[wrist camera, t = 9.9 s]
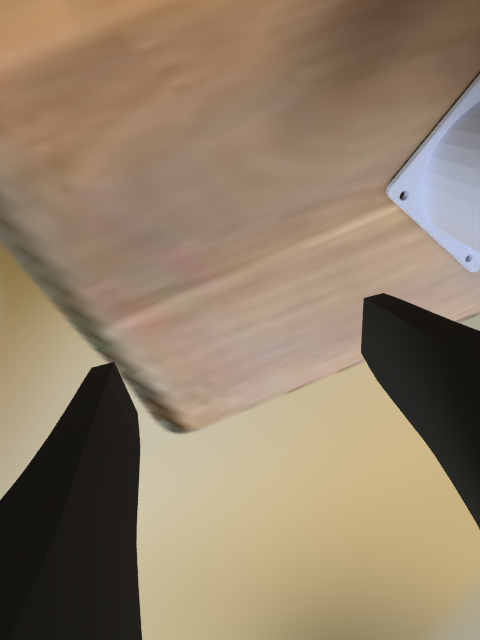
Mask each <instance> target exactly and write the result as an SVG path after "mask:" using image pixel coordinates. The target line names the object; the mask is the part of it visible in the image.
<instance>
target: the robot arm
mask: <svg viewBox="0 0 480 640" xmlns="http://www.w3.org/2000/svg"><path fill="white" fill-rule="evenodd" d="M403 191H405V192H404V195H403V197H402V198H400V194H401V193H402V192H403ZM386 192H387V195H388V197H389V198H390V199H391V200H392V201H393V202H394V203H396V204H397V205H398V206H399V207H400V208H401V209H402V210H403V211H404V212H405V213H406V214H407V215H409V216H410V217H411V218H412V219H413V220H414V221H415V222H416V223H417V224H418V225H419V226H420V227H422V228H423V229H424V230H425V231H426V232H427V233H428V234H429V235H430V236H431V237H432V238H433V239H434V240H436V241H437V242H438V243H439V244H440V245H441V246H442V247H443V248H444V249H445V250H446V251H447V252H449V253H450V254H451V255H452V256H453V257H454V258H455V259H456V260H457V261H458V262H459V263H460V264H462V265H463V266H464V267H465V268H466V269H467V270H469V271H470V272H472V273H473V272H477V271H479V270H480V74H479V76H478V77H477V78H476V79H475V80H474V82H473V83H472V84H471V85H470V86H469V88H468V89H467V90H466V91H465V93H464V94H463V95H462V96H461V97H460V99H459V100H458V101H457V102H456V103H455V105H454V106H453V107H452V108H451V109H450V111H449V112H448V113H447V114H446V116H445V117H444V118H443V119H442V120H441V122H440V123H439V124H438V125H437V126H436V128H435V129H434V130H433V131H432V133H431V134H430V135H429V136H428V137H427V139H426V140H425V141H424V142H423V143H422V145H421V146H420V147H419V148H418V150H417V151H416V152H415V153H414V154H413V156H412V157H411V158H410V159H409V160H408V162H407V163H406V164H405V165H404V167H403V168H402V169H401V170H400V171H399V173H398V174H397V175H396V176H395V177H394V179H393V180H392V181H391V182H390V184H389V185H388V187H387V190H386ZM467 256H468V257H467ZM466 257H467V258H466ZM361 353H362V355H363V357H364V359H365V360H366V362H367V364H368V366H369V368H370V369H371V371H372V373H373V374H374V376H375V377H376V379H377V381H378V382H379V383H380V385H381V386H382V387H383V389H384V390H385V391H386V392H387V394H388V395H389V396H390V398H391V399H392V400H393V402H394V403H395V404H396V405H397V407H398V408H399V409H400V411H401V412H402V413H403V414H404V415H405V417H406V418H407V419H408V421H409V422H410V423H411V424H412V426H413V427H414V428H415V430H416V431H417V432H418V433H419V435H420V436H421V437H422V438H423V440H424V441H425V442H426V444H427V445H428V447H429V448H430V449H431V451H432V452H433V454H434V455H435V456H436V458H437V460H438V461H439V463H440V464H441V466H442V467H443V469H444V471H445V472H446V474H447V475H448V477H449V478H450V480H451V482H452V483H453V485H454V486H455V488H456V490H457V491H458V493H459V494H460V496H461V498H462V500H463V501H464V503H465V505H466V506H467V508H468V510H469V511H470V513H471V515H472V516H473V518H474V520H475V521H476V523H477V525H478V527H479V529H480V331H478V330H475V329H473V328H470V327H467V326H465V325H462V324H460V323H457V322H454V321H452V320H449V319H447V318H445V317H442V316H440V315H437V314H435V313H432V312H430V311H427V310H425V309H423V308H420V307H418V306H415V305H413V304H411V303H408V302H406V301H403V300H401V299H398V298H396V297H393V296H390V295H387V294H385V293H382V294H378V295H374V296H370V297H367V298H364V303H363V323H362V343H361ZM139 466H140V437H139V424H138V413H137V411H136V409H135V406H134V404H133V402H132V400H131V397H130V395H129V393H128V391H127V389H126V387H125V384H124V382H123V380H122V378H121V376H120V373H119V371H118V369H117V367H116V365H115V363H114V362H112V363H108V364H104V365H100V366H97V367H93V368H91V370H90V371H89V373H88V374H87V376H86V377H85V379H84V381H83V382H82V384H81V386H80V387H79V389H78V390H77V392H76V394H75V395H74V397H73V399H72V400H71V402H70V404H69V405H68V407H67V408H66V410H65V412H64V413H63V415H62V416H61V418H60V420H59V421H58V423H57V424H56V426H55V427H54V429H53V431H52V432H51V433H50V435H49V436H48V438H47V439H46V441H45V442H44V443H43V445H42V447H41V448H40V449H39V451H38V452H37V453H36V455H35V456H34V458H33V459H32V460H31V462H30V463H29V465H28V466H27V467H26V469H25V470H24V471H23V473H22V474H21V475H20V477H19V478H18V479H17V480H16V482H15V483H14V484H13V486H12V487H11V488H10V489H9V490H8V492H7V493H6V494H5V495H4V496H3V498H2V499H1V500H0V640H142V632H141V618H140V603H139V587H138V567H137V548H136V537H137V536H136V535H137V533H136V532H137V508H138V507H137V506H138V487H139V486H138V485H139Z"/></svg>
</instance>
